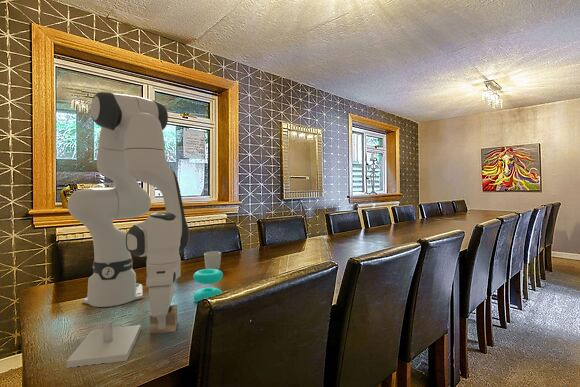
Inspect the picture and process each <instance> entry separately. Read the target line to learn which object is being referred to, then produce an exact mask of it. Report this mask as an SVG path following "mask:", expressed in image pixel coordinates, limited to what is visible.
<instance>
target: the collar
mask: <svg viewBox="0 0 580 387" xmlns="http://www.w3.org/2000/svg"><path fill="white" fill-rule="evenodd" d="M177 325H178V304H173V305H170V307H169V310H168V313H167V315H166V327H165V328H164V329H159V328H158V320H157V317H152V314H151V313H150V314H149V335H157V334H165V333H173V332H175V333H176V330H177Z"/></svg>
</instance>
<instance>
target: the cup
mask: <svg viewBox="0 0 580 387" xmlns="http://www.w3.org/2000/svg"><path fill="white" fill-rule="evenodd" d="M203 257H204V267H205V268H204V269H218V270H220V267H221V259H222V252H221V251H216V250H214V251H213V250H211V251H206V252H204V253H203Z"/></svg>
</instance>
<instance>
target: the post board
mask: <svg viewBox="0 0 580 387" xmlns="http://www.w3.org/2000/svg"><path fill="white" fill-rule="evenodd" d="M141 331H142V325H141V324H136V325H135V324H134V325H126V326H115V327H113V321H111V320H109V321H108V320H107V321H104V322H103V323H102V328H97V329H96V328H94V329H91V330H90V332H89V333H88V334H87V335H86V336H85V338H84V339H83V340H82V341H81V343H80V344H79V345H78V346H77V347H76V349H75V350H74V352H73V353H71V355H69V357H68V358H67V360H66V363H65V364H66V366H65V368H66V369H69V368H70V367H72V368H77V366H80V367H84V366H83V365H88V366H92V365H91V364H96V365H102V364H101V363H105V364H112V363H120V362H127V361H128V358H129V357H130V356H131V353H132V350H133V348H134V346H135V345H136V342H137V341H138V337H139V336H140V333H141Z"/></svg>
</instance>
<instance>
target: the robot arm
mask: <svg viewBox="0 0 580 387" xmlns="http://www.w3.org/2000/svg"><path fill="white" fill-rule="evenodd" d="M89 110H90V117H91V119H92V121H93V122H94V123H95V124H96V125H97V126H100V127H101V128H100V131H99V137H98V144H97V155H96V156H97V158H96V169H97V171H98V172H99V173H100V175H102V176H104V177H105V178H107V179H109V180H112V182H113V187H90V188H89V187H88V188H82V189H77V190H75V191H73V192H72V193H71V194H70V196H69V198H68V200H67V210H68V212H69V214H70V215H71V217H72V218H74V219H75V220H76V221H78V222H80V223H81V224H83V225H84V226H85V227H86V229H87V230H88V231H89V233H90V236H91V238H92V243H93V253H94V256H93V257H94V258H93V259H94V260H93V261H92V272H93V273H92V275H90V277H88V280H87V281H88V282H87V296H86V297H85V298H83V299H82V303H83V304H86V305H87V304H88V305H90V306H91V307H94V308H95V307H97V308H99V307H101V308H106V307H115V306H119V305H123V304H127V303H130V302H132V301H136V300H139V299H143V298H144V293H143V292H144V290H143V289H144V288H143V284H141V283H139V282H138V283H137V273H136V272H135V270H134V269H133V257H132V255H133V256H135V257H142V258H143V257H146V261H145V263H146V269H145V270H146V280H145V283H146V286H145V287H148V298H149V308H150V314H152V317H157V320H158V328H159V329H164V328H165V327H166V315H167V313H168V310H169V307H170V306H172V305H171V304H172V301H173V299H174V298H173V297H174V294H175V290H176V288H175V286H176V285H175V284H176V282H177V279H179V278H180V277H181V275H182V272H181V256H180V252H182V251H185V249H186V248H187V246H188V244H189V242H190V241H191V233H190V232H191V231H190V229H189V225H188V222H187V220H186V215H185V208H184V204H183V200H182V195H181V194H182V193H181V190H180V189H181V188H180V184H179V181H178V176H177V175H176V173H175V171H174V170H172V169H171V168H170V165H169V163H168V161H167V158H166V150H165V149H166V147H165V146H166V145H165V138H164V137H165V136H164V132H163V131H164V130H165V129H166V127H167V125H168V121H169V114H168V111H167V108H166V106H165V105H164V104H163V103H161V102H159V101H157V100H153V99H152V100H150V99H148V98H145V97H141V96H137V95H129V94H124V93H123V94H122V93H113V92H111V91H98V92H96V93H95V95H94V96H93V97H92V99H91V103H90V107H89ZM138 181H140V182H142V183H144V184H148V185H150V186H152V187H154V188H156V189H157V190H158V191H159V192H160V193H161V195H162V197H163V203H164V207H165V212H163V211H157V212H152V213H149V214H148V212H149V210H150V209H151V205H152V200H151V197H150V195H149V193H148V192H147V191H146V190H145V189H144V188H143V187H141V186H140V184H139V182H138ZM147 214H148V215H147ZM144 215H147V217H146V219H145V220H143V221H142V222H140V223H136V224H134V225H132V226H131V227H130V228H129V229H128V230H127V232H125V231H124V230H122V229H118V228H116V227H115V225H114V222H113V221H114V220H123V219H124V220H126V219H134V218H138V217H141V216H142V217H143V216H144Z"/></svg>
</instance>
